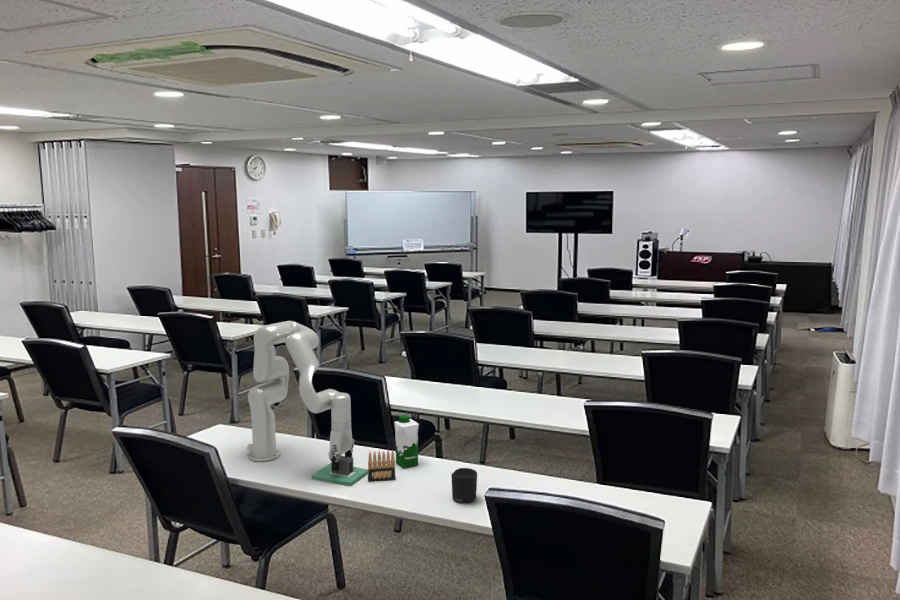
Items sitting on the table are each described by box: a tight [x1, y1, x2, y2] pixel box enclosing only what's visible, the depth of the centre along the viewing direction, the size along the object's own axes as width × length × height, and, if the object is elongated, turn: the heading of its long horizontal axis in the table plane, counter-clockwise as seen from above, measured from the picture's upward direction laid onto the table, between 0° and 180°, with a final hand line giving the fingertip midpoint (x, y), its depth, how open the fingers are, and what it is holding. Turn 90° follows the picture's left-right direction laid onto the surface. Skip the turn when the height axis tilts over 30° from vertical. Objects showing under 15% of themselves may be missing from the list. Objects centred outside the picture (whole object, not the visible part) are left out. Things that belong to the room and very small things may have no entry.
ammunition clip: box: [367, 449, 397, 483], centre depth 262 cm, size 11×2×12 cm, turn 101°
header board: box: [310, 462, 368, 487], centre depth 267 cm, size 18×14×5 cm
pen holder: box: [450, 467, 478, 504], centre depth 246 cm, size 9×9×10 cm
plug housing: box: [332, 455, 354, 476], centre depth 266 cm, size 8×4×6 cm, turn 67°
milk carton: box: [394, 414, 420, 470], centre depth 277 cm, size 9×9×20 cm
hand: (342, 466), depth 266 cm, fingers open, 9 cm apart
